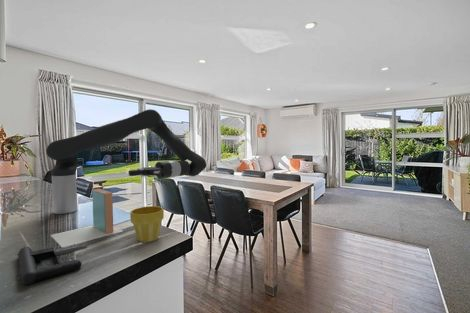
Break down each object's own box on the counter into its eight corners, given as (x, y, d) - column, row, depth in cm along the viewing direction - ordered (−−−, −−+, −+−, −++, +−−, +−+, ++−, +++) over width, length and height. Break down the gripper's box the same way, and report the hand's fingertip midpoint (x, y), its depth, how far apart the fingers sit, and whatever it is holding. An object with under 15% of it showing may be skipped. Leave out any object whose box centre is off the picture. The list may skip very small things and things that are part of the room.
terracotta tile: (93, 226, 89) (91, 189, 88) (100, 224, 91) (99, 188, 90) (105, 234, 81) (104, 193, 80) (113, 232, 83) (112, 192, 82)
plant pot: (127, 237, 80) (126, 208, 79) (157, 230, 86) (157, 204, 86) (135, 248, 72) (135, 216, 71) (168, 239, 78) (168, 210, 77)
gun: (81, 235, 76) (12, 248, 65) (99, 256, 62) (15, 277, 51) (80, 246, 76) (12, 260, 65) (98, 269, 62) (14, 292, 51)
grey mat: (50, 236, 80) (50, 235, 80) (106, 223, 94) (106, 222, 94) (62, 249, 71) (62, 247, 71) (123, 232, 84) (123, 231, 84)
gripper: (159, 160, 110) (121, 163, 97) (176, 161, 101) (137, 164, 88) (160, 176, 110) (122, 181, 97) (177, 179, 101) (138, 184, 88)
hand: (129, 173), depth 93 cm, fingers closed
